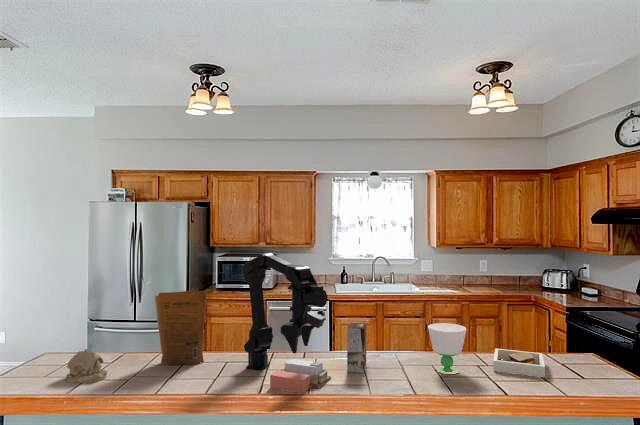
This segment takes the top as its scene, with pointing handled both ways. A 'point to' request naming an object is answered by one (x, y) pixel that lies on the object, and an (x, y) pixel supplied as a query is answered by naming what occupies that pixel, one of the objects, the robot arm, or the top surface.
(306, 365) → the pale blue slab
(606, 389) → the top surface
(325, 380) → the jig
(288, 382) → the salmon pink slab
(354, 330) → the coffee box
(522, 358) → the toy sandwich meal
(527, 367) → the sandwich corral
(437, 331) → the cup
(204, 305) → the pancake mix bag
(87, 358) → the ceramic model
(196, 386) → the top surface
